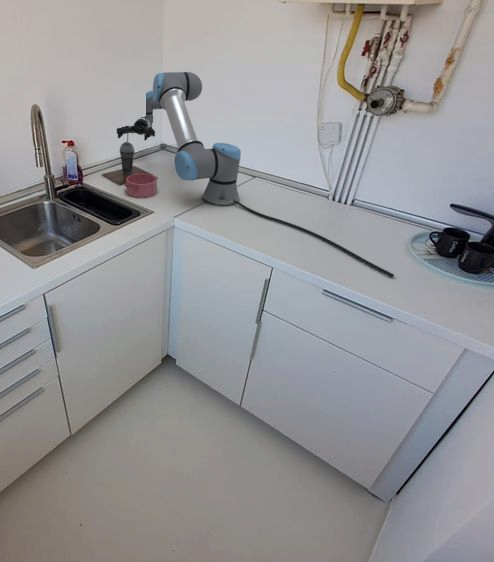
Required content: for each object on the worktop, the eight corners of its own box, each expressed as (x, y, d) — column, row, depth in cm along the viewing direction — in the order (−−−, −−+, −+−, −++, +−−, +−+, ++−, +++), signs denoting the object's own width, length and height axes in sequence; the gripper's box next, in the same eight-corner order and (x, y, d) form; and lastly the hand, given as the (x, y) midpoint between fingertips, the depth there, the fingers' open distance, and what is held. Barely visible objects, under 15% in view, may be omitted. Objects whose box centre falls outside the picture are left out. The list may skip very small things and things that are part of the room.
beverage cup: (130, 170, 191) (129, 129, 179) (137, 175, 186) (137, 133, 174) (117, 173, 187) (115, 132, 176) (125, 177, 183) (123, 135, 171)
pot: (165, 191, 171) (165, 179, 168) (135, 201, 163) (134, 188, 159) (147, 182, 180) (147, 170, 176) (117, 191, 172) (117, 178, 168)
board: (153, 176, 187) (153, 174, 186) (119, 185, 177) (119, 183, 177) (134, 167, 197) (134, 165, 196) (102, 175, 187) (102, 173, 187)
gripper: (164, 134, 201) (156, 146, 184) (120, 131, 205) (108, 142, 189) (164, 120, 196) (156, 130, 180) (119, 117, 201) (107, 126, 184)
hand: (131, 136), depth 184 cm, fingers open, 13 cm apart
